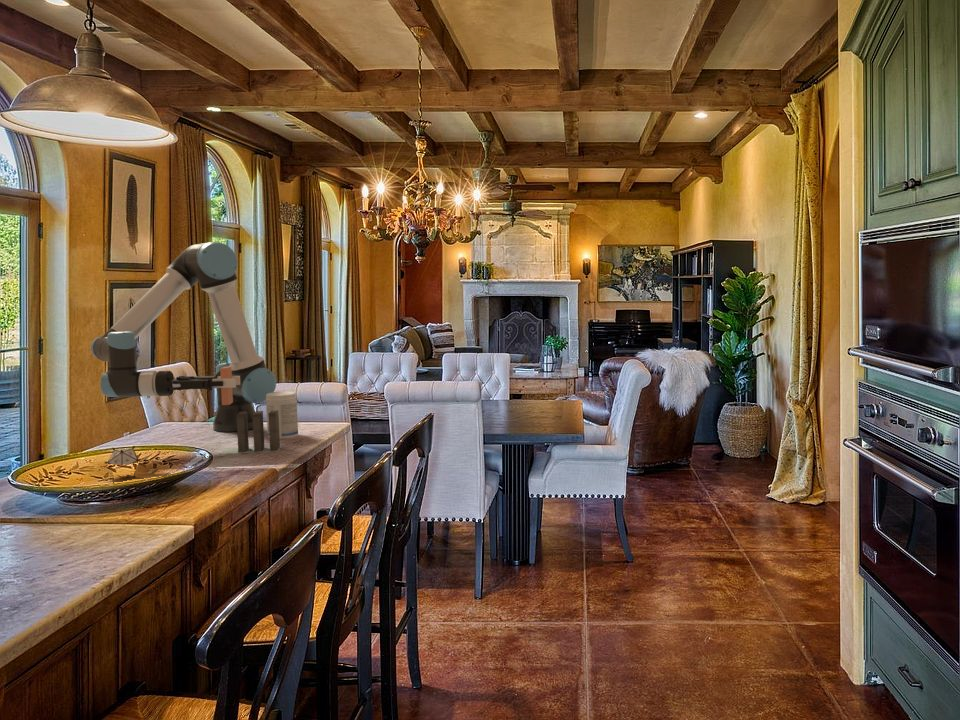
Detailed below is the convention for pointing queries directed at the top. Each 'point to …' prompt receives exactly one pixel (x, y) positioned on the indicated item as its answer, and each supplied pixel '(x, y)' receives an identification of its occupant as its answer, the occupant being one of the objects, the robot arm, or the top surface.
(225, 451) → the runner board
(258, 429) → the domino
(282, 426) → the supplement tub
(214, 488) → the top surface
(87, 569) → the top surface
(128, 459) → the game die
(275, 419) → the domino
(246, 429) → the domino
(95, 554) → the top surface
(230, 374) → the domino
